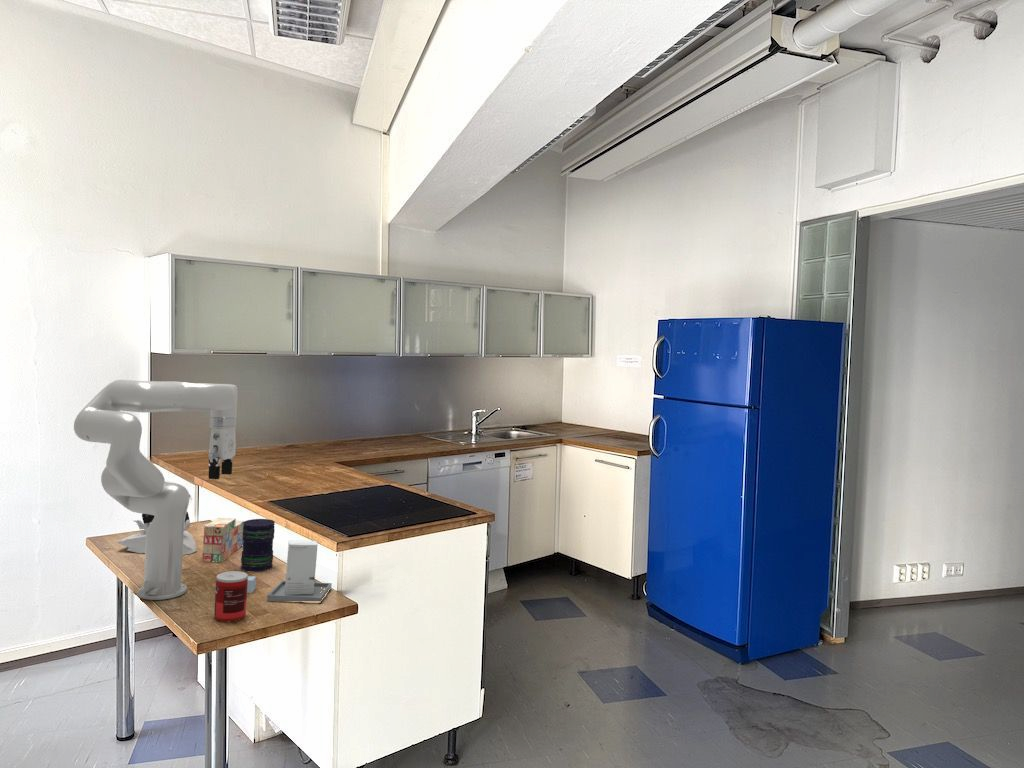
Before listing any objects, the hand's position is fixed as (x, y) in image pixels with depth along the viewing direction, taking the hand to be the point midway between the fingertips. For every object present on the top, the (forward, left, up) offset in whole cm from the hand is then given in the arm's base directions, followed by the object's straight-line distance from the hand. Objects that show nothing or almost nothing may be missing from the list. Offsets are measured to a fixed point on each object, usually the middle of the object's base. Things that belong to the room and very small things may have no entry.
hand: (220, 476), depth 212 cm
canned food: (-37, -19, -31) cm, 52 cm away
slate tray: (-18, -32, -30) cm, 48 cm away
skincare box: (-18, -32, -30) cm, 47 cm away
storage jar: (+6, -11, -31) cm, 33 cm away
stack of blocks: (+20, +5, -31) cm, 37 cm away
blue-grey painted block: (-17, -14, -31) cm, 38 cm away
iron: (+20, +27, -31) cm, 45 cm away
